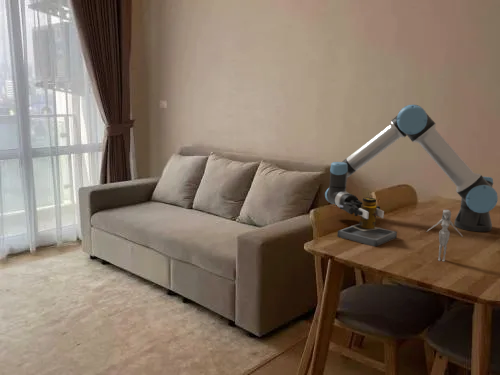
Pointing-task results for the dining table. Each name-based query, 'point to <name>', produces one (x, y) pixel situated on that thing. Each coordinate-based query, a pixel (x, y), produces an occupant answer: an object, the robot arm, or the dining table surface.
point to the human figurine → (444, 231)
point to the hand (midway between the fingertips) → (375, 215)
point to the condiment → (369, 223)
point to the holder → (367, 235)
